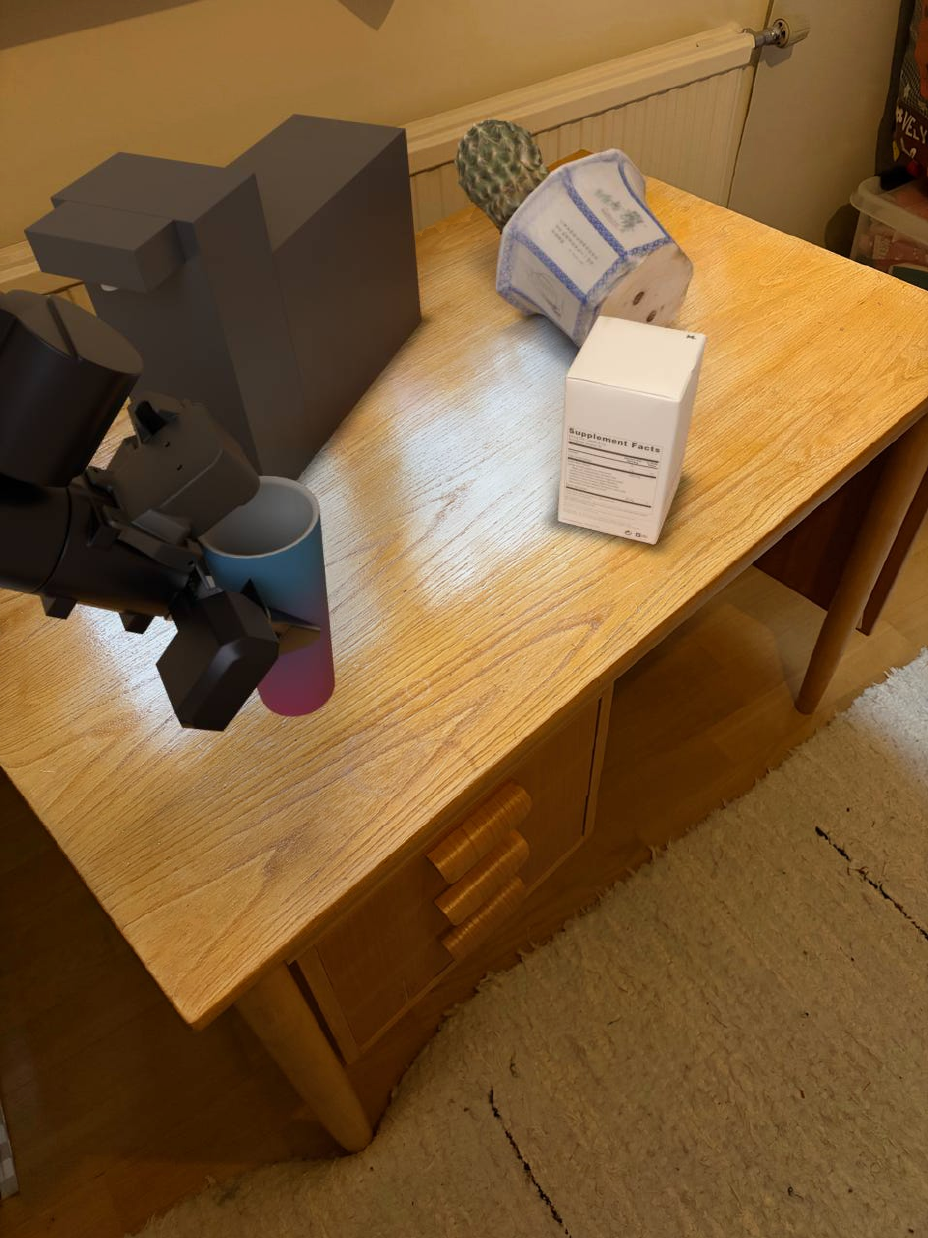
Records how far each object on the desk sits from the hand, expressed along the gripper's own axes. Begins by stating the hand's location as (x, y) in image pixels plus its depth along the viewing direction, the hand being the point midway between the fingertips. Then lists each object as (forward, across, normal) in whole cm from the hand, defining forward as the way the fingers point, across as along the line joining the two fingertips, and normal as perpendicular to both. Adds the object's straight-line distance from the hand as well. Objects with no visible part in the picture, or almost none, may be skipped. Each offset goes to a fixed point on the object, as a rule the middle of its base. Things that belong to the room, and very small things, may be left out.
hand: (297, 601), depth 53 cm
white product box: (+31, +9, -13) cm, 35 cm away
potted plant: (+40, +39, -22) cm, 60 cm away
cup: (+4, 0, +6) cm, 8 cm away
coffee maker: (+17, +37, +1) cm, 41 cm away
